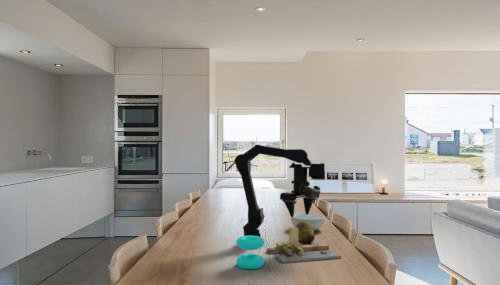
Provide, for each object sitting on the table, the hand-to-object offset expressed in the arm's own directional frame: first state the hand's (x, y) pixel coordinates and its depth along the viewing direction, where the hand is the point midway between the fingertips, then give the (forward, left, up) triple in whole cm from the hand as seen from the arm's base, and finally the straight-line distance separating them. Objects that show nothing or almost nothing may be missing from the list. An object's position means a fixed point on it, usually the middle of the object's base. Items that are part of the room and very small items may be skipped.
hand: (299, 215), depth 161 cm
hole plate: (-3, -15, -13) cm, 20 cm away
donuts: (-27, -19, -14) cm, 35 cm away
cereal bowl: (+16, +29, -14) cm, 36 cm away
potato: (+6, +9, -14) cm, 17 cm away
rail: (-3, -8, -13) cm, 16 cm away
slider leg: (-5, -8, -12) cm, 15 cm away
